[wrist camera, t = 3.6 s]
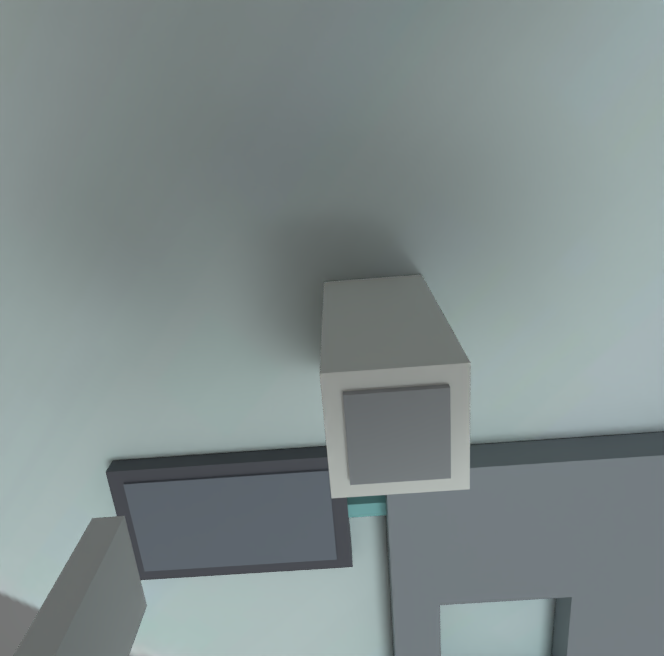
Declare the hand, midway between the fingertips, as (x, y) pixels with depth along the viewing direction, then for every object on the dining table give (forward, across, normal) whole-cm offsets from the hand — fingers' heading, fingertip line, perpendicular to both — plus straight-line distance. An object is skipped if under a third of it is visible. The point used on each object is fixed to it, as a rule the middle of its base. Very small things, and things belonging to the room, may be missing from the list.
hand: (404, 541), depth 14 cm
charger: (+15, 0, 0) cm, 15 cm away
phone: (+15, -3, -10) cm, 18 cm away
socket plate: (+14, +8, -16) cm, 23 cm away
